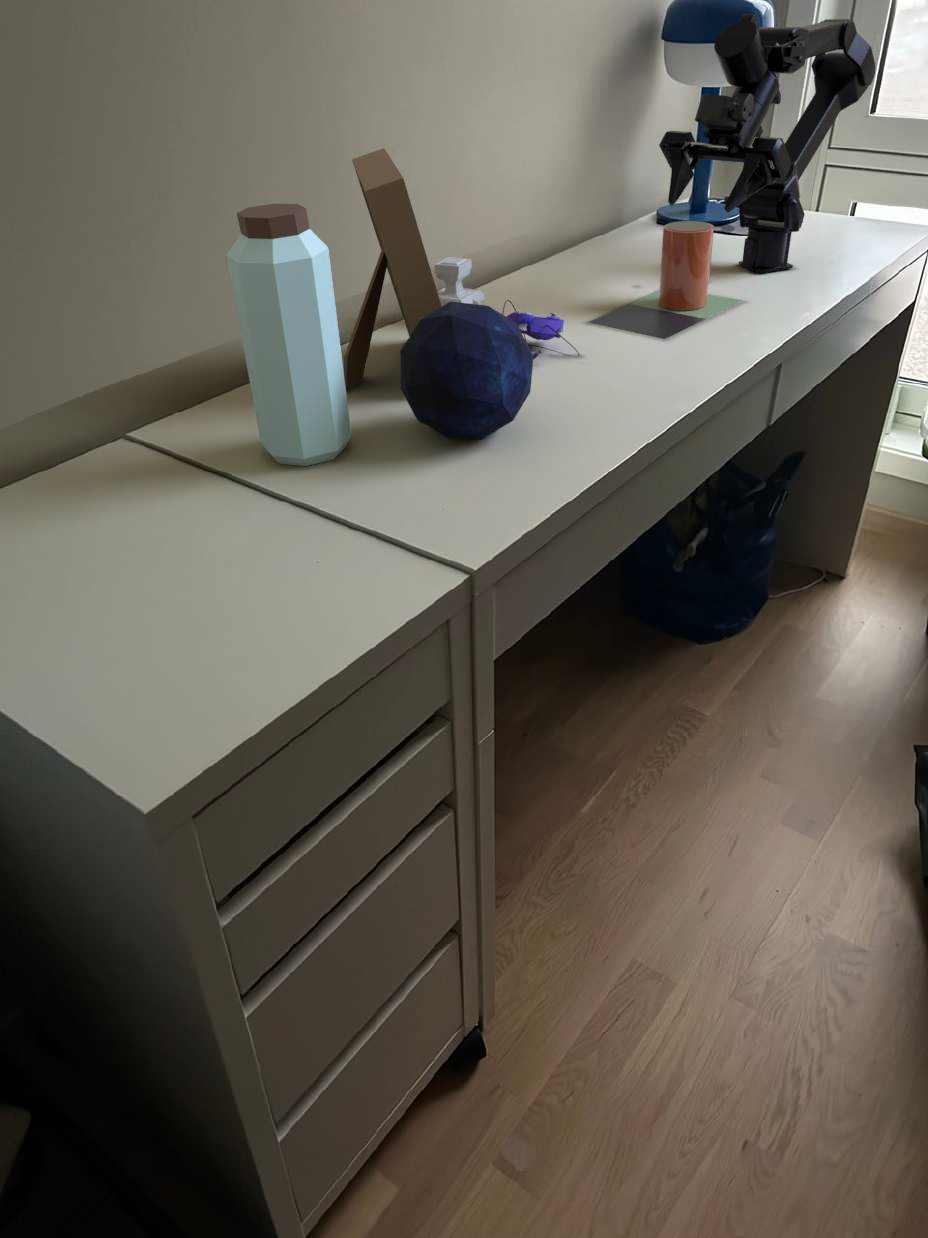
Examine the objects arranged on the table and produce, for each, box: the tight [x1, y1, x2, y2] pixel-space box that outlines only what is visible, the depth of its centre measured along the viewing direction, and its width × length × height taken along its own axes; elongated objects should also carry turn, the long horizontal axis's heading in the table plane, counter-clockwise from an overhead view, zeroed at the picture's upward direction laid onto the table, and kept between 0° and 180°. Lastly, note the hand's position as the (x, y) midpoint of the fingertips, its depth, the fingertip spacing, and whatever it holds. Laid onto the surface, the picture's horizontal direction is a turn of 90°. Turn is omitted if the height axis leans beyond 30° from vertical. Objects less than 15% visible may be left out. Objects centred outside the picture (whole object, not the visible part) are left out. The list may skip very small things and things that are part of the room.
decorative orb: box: [399, 302, 534, 441], centre depth 103 cm, size 14×15×15 cm
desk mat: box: [588, 291, 743, 340], centre depth 139 cm, size 21×13×1 cm, turn 137°
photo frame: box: [343, 147, 442, 391], centre depth 118 cm, size 15×22×25 cm
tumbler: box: [658, 220, 715, 311], centre depth 138 cm, size 7×7×11 cm
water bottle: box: [226, 203, 352, 467], centre depth 98 cm, size 10×10×25 cm
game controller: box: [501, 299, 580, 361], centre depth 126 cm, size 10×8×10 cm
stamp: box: [434, 256, 486, 306], centre depth 139 cm, size 9×7×8 cm
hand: (697, 206), depth 135 cm, fingers open, 9 cm apart
